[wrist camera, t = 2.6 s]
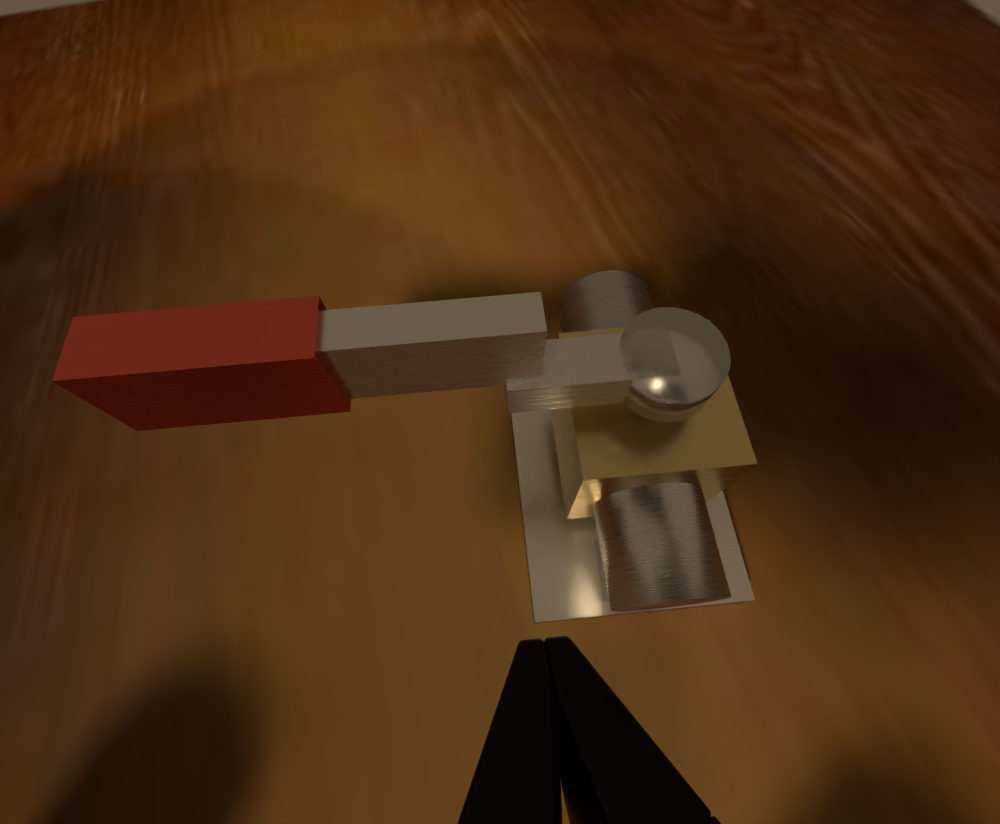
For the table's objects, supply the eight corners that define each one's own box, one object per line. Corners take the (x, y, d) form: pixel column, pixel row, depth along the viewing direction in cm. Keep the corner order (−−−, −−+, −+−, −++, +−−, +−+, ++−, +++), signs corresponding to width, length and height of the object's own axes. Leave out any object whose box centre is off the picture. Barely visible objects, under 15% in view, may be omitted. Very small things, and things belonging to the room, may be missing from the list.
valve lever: (724, 417, 15) (794, 340, 12) (161, 469, 15) (42, 408, 11) (696, 330, 17) (751, 237, 13) (180, 376, 16) (81, 294, 13)
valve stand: (742, 602, 21) (876, 575, 14) (533, 623, 21) (547, 608, 13) (670, 347, 27) (735, 222, 19) (504, 361, 27) (502, 242, 19)
